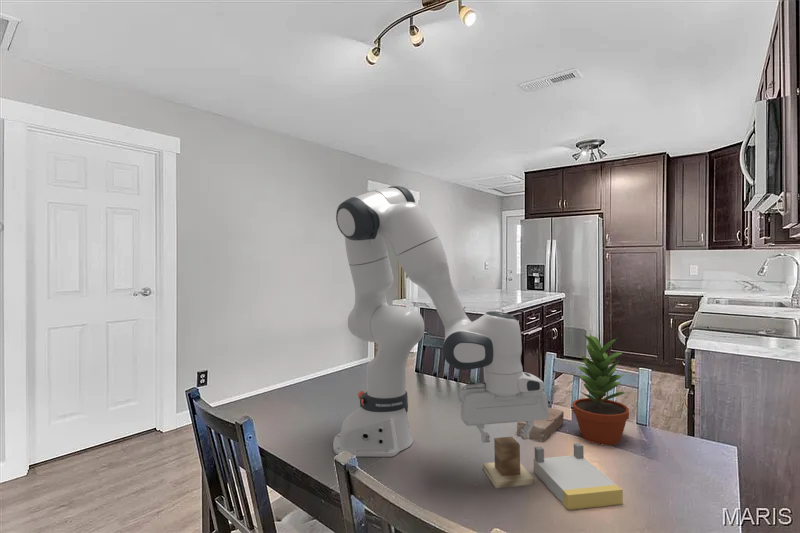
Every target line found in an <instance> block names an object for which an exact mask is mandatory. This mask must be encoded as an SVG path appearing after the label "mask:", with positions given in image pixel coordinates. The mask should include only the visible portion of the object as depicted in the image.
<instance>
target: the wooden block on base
mask: <svg viewBox="0 0 800 533" xmlns="http://www.w3.org/2000/svg"><path fill="white" fill-rule="evenodd" d="M493 439H494V441H493V443H494V444H493V447H494V461H493V462H485V463H484V462H483V463H482V470H483V471H484V472H485V474H486V475H487V477H488V478H489V480H490V482H491V483H492V484H493V486H494V487H495V489H499V488H500V489H501V488H510V487H519V486H520V487H521V486H531V485H535V478H534V477H533V476H532V475H531V473H530V472H529V471H528V470H527V469H526V468H525V467H524V465H523V464H522V463H521V449H520V448H521V447H520V446H521V444H520V443H519V442H518V441H517V440H516V439H515V437H513V436H504V437H503V436H502V437H494V438H493Z"/></svg>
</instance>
